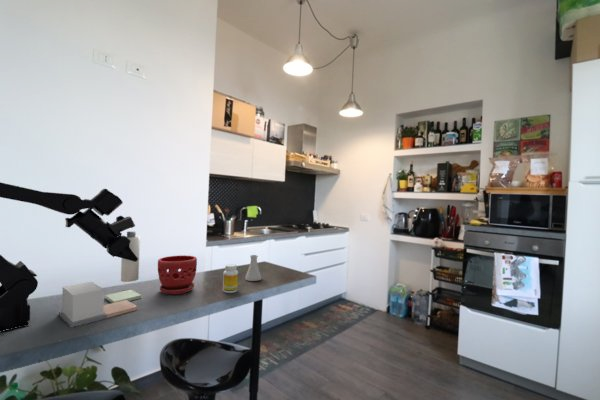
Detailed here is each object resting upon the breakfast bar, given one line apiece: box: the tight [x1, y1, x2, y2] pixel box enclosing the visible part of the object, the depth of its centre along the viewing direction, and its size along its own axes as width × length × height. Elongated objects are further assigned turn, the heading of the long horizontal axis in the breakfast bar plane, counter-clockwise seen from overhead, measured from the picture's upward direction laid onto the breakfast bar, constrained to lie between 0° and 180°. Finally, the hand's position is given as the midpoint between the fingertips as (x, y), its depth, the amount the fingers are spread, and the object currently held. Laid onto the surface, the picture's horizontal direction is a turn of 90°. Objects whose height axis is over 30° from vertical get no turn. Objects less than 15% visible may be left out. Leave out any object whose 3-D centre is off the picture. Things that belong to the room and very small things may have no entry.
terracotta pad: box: [104, 300, 138, 319], centre depth 87 cm, size 8×8×1 cm
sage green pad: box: [104, 289, 142, 304], centre depth 96 cm, size 8×8×1 cm
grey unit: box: [58, 281, 108, 328], centre depth 82 cm, size 8×12×8 cm, turn 52°
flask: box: [244, 254, 262, 282], centre depth 123 cm, size 7×7×10 cm
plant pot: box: [157, 255, 198, 295], centre depth 106 cm, size 13×13×12 cm
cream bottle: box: [120, 231, 141, 283], centre depth 95 cm, size 5×5×16 cm
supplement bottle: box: [222, 263, 239, 294], centre depth 107 cm, size 5×5×10 cm
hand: (135, 258), depth 95 cm, fingers closed on cream bottle, 5 cm apart
